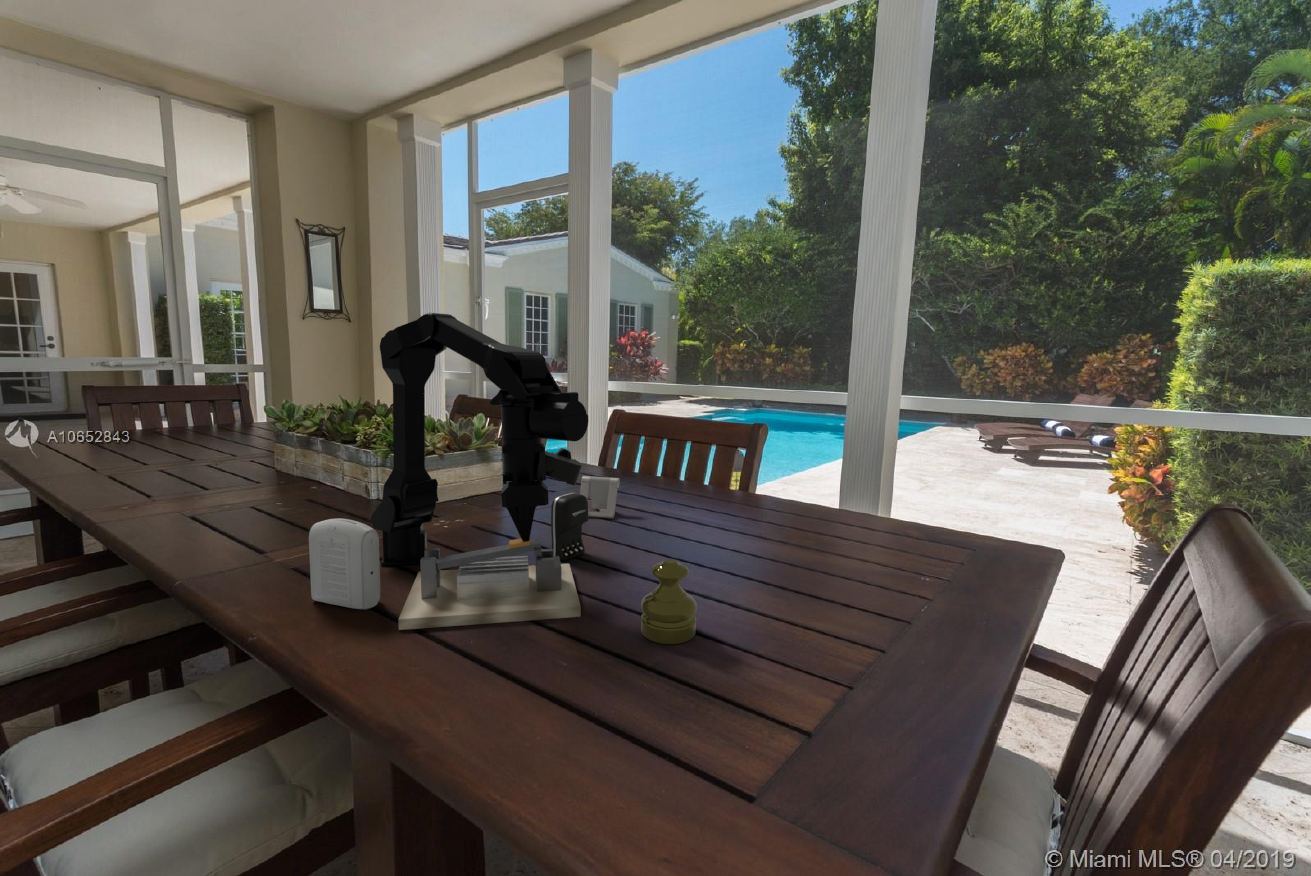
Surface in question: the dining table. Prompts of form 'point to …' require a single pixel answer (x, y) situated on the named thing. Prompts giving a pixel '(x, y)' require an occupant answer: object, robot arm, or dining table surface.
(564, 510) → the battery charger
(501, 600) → the base board
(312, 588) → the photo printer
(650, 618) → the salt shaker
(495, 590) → the finned block
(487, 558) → the strap
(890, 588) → the dining table surface
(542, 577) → the bracket
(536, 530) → the dining table surface
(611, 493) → the portable electronic device stand
